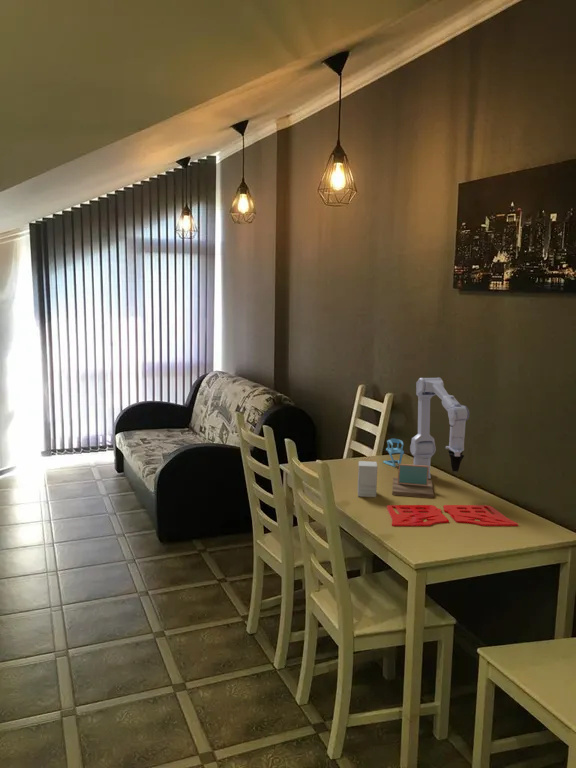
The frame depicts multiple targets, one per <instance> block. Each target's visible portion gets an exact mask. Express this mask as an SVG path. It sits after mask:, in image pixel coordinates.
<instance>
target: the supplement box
mask: <svg viewBox="0 0 576 768" xmlns="http://www.w3.org/2000/svg"><path fill="white" fill-rule="evenodd" d="M357 468H358V474H357V475H358V476H357V496H358V497H364V498H365V497H366V498H376V497H377V490H378V489H377V488H378V487H377V483H378V462H377V461H371V460H370V461H366V460H359V461H358V467H357Z"/></svg>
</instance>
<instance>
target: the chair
mask: <svg viewBox="0 0 576 768" xmlns="http://www.w3.org/2000/svg"><path fill="white" fill-rule="evenodd" d="M386 444H387V447H386V448H385V451H387V453H388V454H389V457H390V459H389V460H383V463H384V464H386V465H388V466H391V467H393V468H396V467H399V464H402V461H403V460H402V459H403V455H404V454H405V450H403V447H404V441H403V440H401V439H398V438H390V439H388V440H386ZM394 444H396V447H394ZM399 444H401V447H400V445H399ZM390 446H391V447H390ZM393 454H399V459H395V460H394V457H393ZM396 463H397V466H396Z"/></svg>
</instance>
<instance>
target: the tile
mask: <svg viewBox="0 0 576 768" xmlns="http://www.w3.org/2000/svg"><path fill="white" fill-rule="evenodd" d="M428 470H429V466H424V465H413V464H410V463H409V464H407V463H406V464H405V463H401V464H399V466H398V471H397V473H398V474H397V478H398V483H403V484H415V485H428V480H429V479H428Z"/></svg>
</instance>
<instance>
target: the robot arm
mask: <svg viewBox="0 0 576 768" xmlns="http://www.w3.org/2000/svg"><path fill="white" fill-rule="evenodd" d="M415 385H416V387H415V388H416V389H415V391H416V392H415V394H416V396H417V398H418V401H417V434H416V435H414V436H413V437H411V441H410V442H411V443H410V445H409V450H410V454H411V455H412V456H413V464H412V465H424V466H429V470H428V480H430V479H431V478H432V477H431V462H432V461H431V459H432V457H433V456H434V455H435V454H436V450H437V448H436V442H435V438H434V436H432V435H431V431H430V428H431V424H430V423H431V399H432V398H433V397H434V396H437V397H438V398H439V399H440V400H441V406H442V407H443V408H444V409H445V410H446V412H447V416H448V420H449V421H448V423H449V425H450V426H449V442H448V445H446V446H445V449H446V450H447V451H448V455H449V459H450V465H451V469H452V472H459V470H460V466H461V462H462V460H463V459H464V457H465V455H464V454H463V451H464V450H465V437H466V436H465V435H466V423H467V422H466V421H468V420H469V417H470V410H469V408H468V407H467V406H466V405H463V404H461V403H460V402H459V401H458V400H457V398H455V395H451V394H449V393H448V391H447V390H446V389H445V384H444V381H443V379H442V378H441V377H419V378H418V380H417V381H416V382H415Z"/></svg>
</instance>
